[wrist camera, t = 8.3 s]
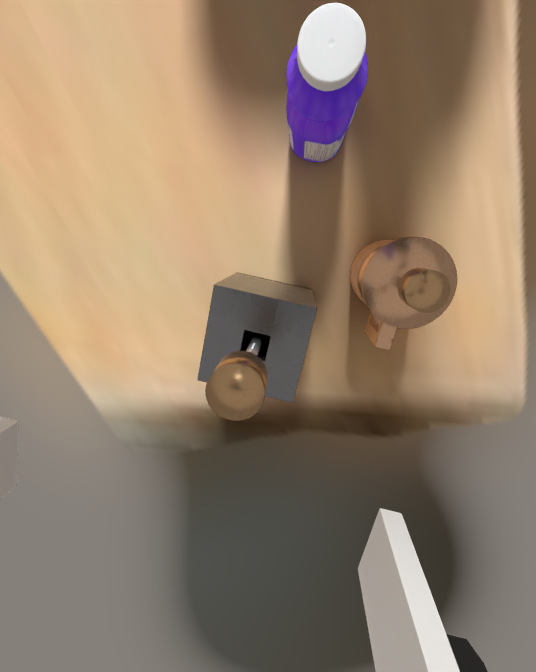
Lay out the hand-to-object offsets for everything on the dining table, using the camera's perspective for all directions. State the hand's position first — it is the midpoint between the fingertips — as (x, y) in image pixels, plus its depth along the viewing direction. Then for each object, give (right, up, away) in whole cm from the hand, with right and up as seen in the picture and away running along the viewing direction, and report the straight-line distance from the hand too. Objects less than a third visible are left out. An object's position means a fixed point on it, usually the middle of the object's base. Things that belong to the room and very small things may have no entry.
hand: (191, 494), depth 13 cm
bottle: (+8, +27, +25) cm, 38 cm away
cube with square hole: (+2, +6, +31) cm, 32 cm away
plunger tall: (+2, +7, +27) cm, 28 cm away
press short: (+16, +12, +29) cm, 35 cm away
